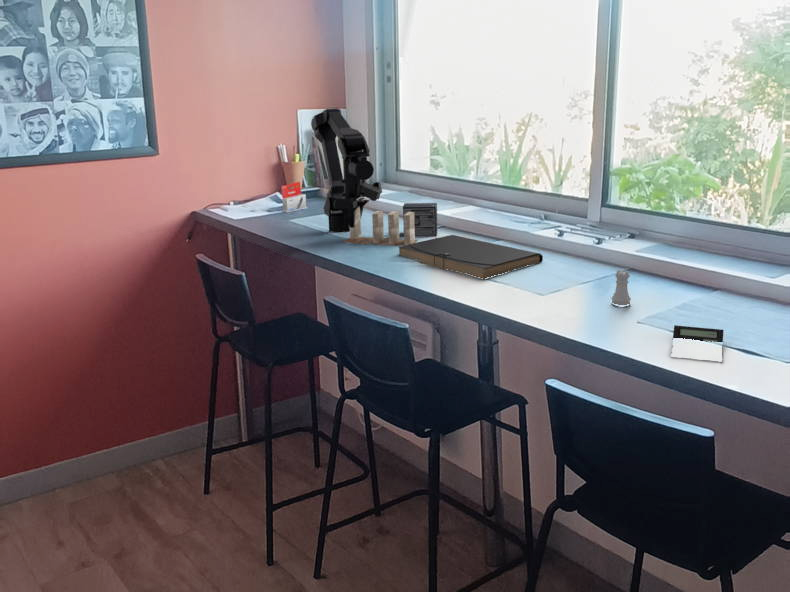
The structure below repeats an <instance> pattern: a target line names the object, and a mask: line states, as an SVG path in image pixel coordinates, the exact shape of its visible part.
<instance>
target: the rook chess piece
mask: <svg viewBox="0 0 790 592" xmlns="http://www.w3.org/2000/svg"><path fill="white" fill-rule="evenodd" d="M614 276H615V278H616V281H615V283H616V284H615V285H616V286H615V291H614V293H613V295H612V297H611V301H612V303H614V304H618V305H627V304H630V303H631V300H632V299H631V296H630V294H629V289H628V284H629V281H628V280H629V278H630V274H629V271H628V270H624V269H619V270H617V271H616V273H615V275H614ZM612 303H611V304H612ZM630 305H631V304H630Z"/></svg>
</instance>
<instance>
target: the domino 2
mask: <svg viewBox="0 0 790 592" xmlns="http://www.w3.org/2000/svg"><path fill="white" fill-rule="evenodd" d="M371 216H372V217H371V219H372V221H371V223H372V238H373V243H380V242H381V241H383V240H384V238H385V234H384V230H385V229H384V210H376V211H375V212H373V213H371Z"/></svg>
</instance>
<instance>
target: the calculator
mask: <svg viewBox="0 0 790 592" xmlns="http://www.w3.org/2000/svg"><path fill="white" fill-rule="evenodd" d="M672 333H673V335H672V339H673V338H683V339H684V338H685V339H692V340H693V339H694V340H700V341H706V342H707V341H710V342H712V341H713V342H723V343H724V329H719V328H708V327H697V326H695V327H694V326H687V325H674V326H673V332H672Z"/></svg>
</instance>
